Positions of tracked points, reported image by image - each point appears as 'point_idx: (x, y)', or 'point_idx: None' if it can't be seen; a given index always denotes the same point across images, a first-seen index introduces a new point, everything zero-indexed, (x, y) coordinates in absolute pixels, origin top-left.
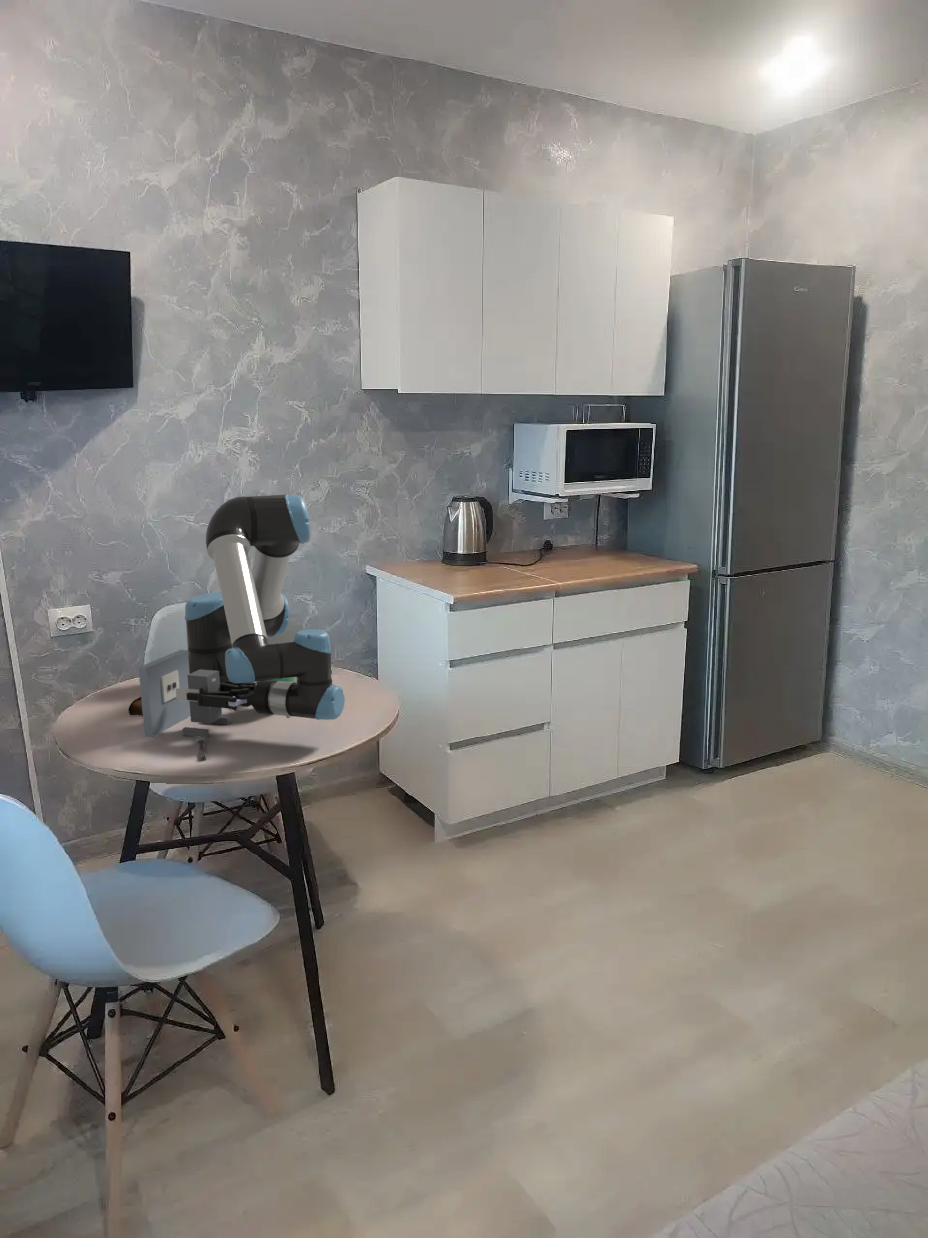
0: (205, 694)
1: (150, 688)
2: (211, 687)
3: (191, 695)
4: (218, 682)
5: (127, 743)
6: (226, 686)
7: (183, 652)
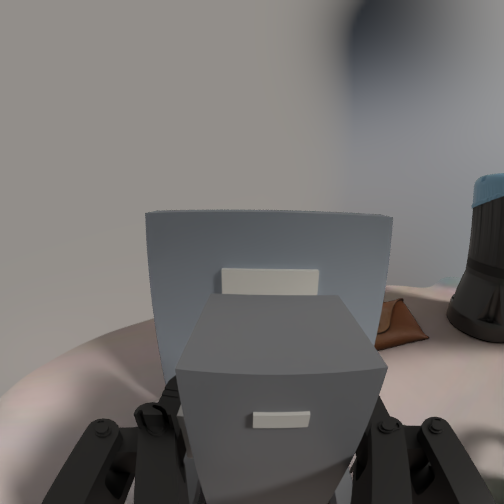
0: (105, 454)
1: (161, 287)
2: (242, 448)
3: (163, 398)
4: (346, 437)
5: (130, 379)
6: (368, 490)
7: (368, 216)
